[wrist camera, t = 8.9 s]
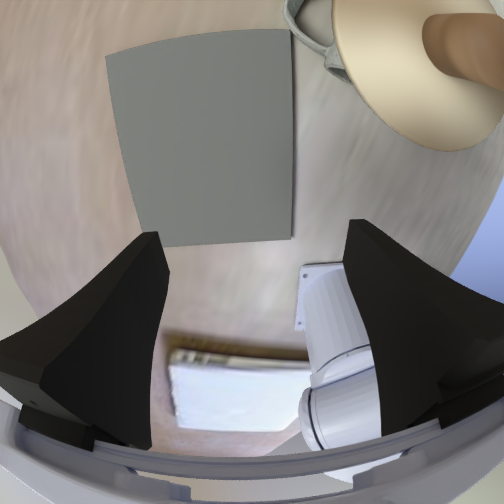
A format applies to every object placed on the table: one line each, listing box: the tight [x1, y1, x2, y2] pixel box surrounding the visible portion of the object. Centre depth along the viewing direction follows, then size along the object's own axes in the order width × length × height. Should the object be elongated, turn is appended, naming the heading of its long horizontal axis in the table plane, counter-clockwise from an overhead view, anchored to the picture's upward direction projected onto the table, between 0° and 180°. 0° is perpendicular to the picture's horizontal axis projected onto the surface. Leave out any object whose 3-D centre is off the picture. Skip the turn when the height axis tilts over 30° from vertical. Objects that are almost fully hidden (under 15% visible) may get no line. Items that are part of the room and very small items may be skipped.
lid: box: [331, 0, 504, 152], centre depth 6 cm, size 10×10×4 cm
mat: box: [105, 29, 293, 247], centre depth 18 cm, size 16×12×1 cm
